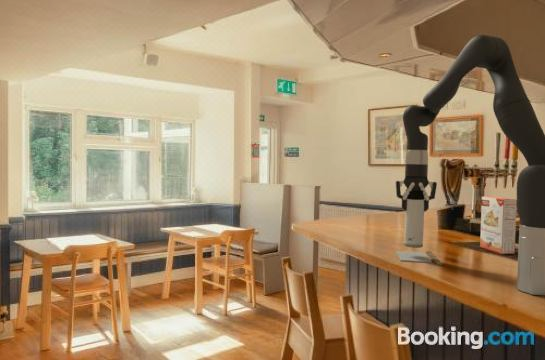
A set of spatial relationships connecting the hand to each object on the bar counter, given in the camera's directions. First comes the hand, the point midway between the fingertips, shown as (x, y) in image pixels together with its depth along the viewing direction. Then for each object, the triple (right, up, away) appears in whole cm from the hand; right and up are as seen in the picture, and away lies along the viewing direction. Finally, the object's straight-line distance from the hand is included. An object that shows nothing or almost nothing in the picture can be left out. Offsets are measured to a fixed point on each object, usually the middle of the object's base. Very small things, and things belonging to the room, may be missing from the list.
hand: (414, 210), depth 161 cm
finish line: (+6, -17, 0) cm, 18 cm away
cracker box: (+37, -17, +18) cm, 45 cm away
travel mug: (0, -13, +1) cm, 13 cm away
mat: (0, -17, +1) cm, 17 cm away
